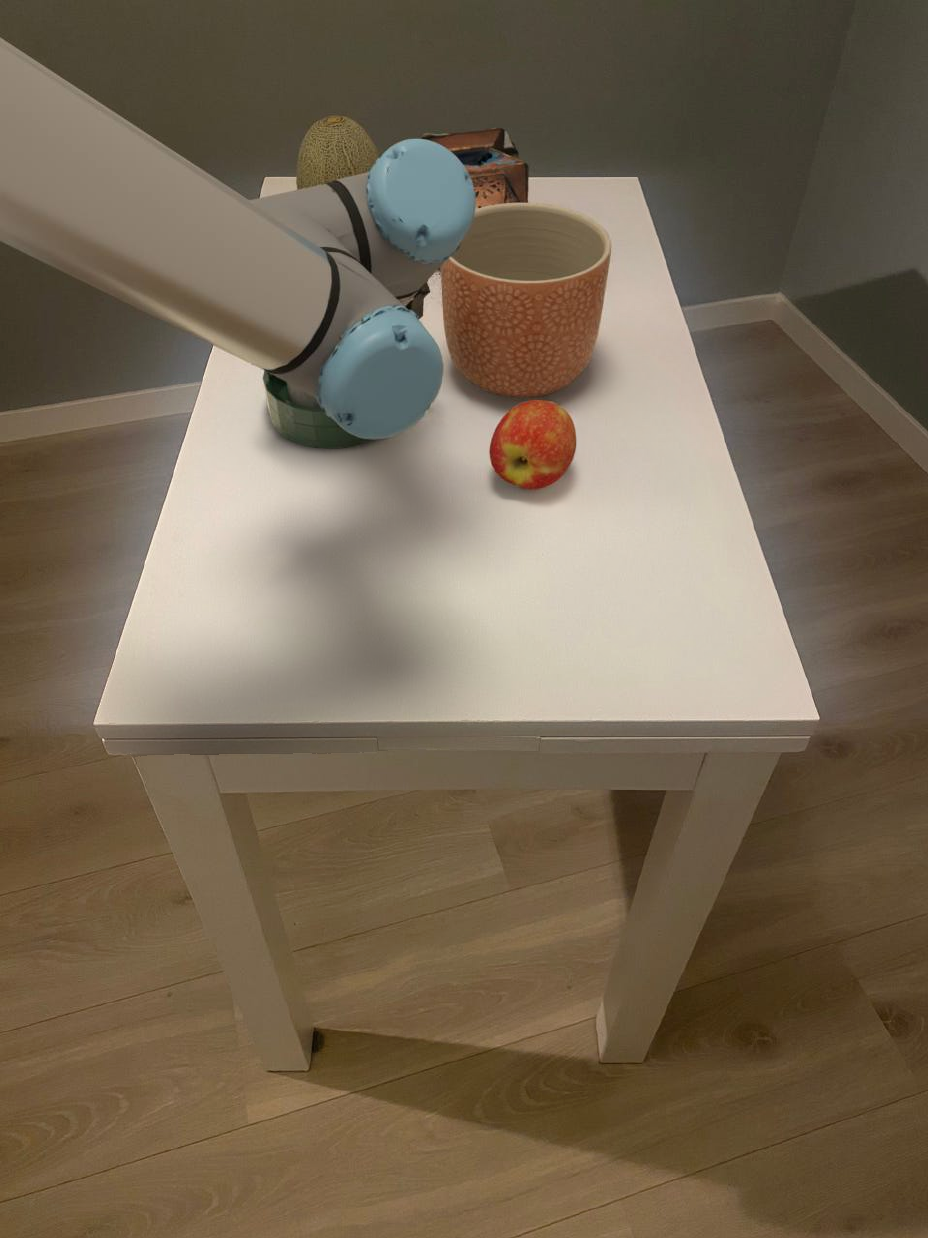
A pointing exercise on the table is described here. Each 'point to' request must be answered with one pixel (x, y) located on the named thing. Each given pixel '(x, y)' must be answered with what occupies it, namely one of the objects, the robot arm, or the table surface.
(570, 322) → the planter
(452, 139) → the lantern
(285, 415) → the green bowl
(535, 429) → the apple
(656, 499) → the table surface
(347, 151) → the fruit
